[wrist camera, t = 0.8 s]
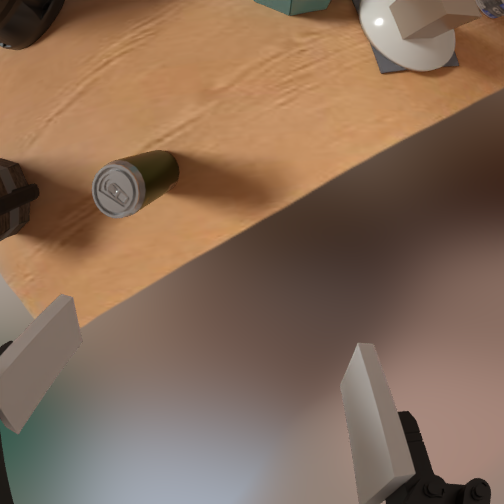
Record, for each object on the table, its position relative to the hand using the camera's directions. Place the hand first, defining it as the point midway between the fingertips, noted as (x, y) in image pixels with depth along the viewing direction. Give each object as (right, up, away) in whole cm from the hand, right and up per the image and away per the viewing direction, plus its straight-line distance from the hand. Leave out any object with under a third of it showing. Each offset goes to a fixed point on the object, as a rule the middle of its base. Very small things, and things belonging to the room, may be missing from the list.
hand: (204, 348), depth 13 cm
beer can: (-9, +14, +23) cm, 29 cm away
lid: (+21, +32, +13) cm, 40 cm away
